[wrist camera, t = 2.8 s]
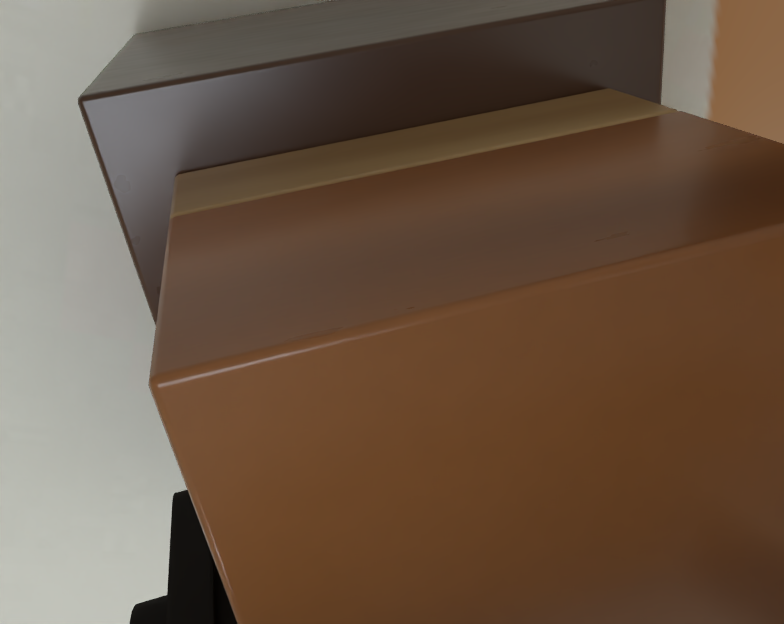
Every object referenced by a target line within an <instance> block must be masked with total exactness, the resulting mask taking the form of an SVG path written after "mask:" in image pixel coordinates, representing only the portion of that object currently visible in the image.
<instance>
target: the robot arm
mask: <svg viewBox="0 0 784 624" xmlns="http://www.w3.org/2000/svg"><path fill="white" fill-rule="evenodd" d="M130 624H238V623H237V621H236V618H235V615H234V613H233V610H232V607H231V605H230V602H229V599H228V597H227V594H226V591H225V589H224V586H223V583H222V581H221V578H220V575H219V573H218V570H217V567H216V565H215V562H214V559H213V557H212V554H211V551H210V548H209V546H208V543H207V540H206V538H205V535H204V532H203V530H202V527H201V524H200V522H199V519H198V516H197V514H196V511H195V508H194V506H193V503H192V500H191V498H190V495H189V492H188V490H185V491H181V492H177V493H175V494H174V495H173V502H172V521H171V539H170V557H169V575H168V594H167V595H166V596H163V597H159V598H156V599H152V600H149V601H145V602H142V603H139V604H136V605H135V606H134V608H133V610H132V614H131V619H130Z"/></svg>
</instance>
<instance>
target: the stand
mask: <svg viewBox="0 0 784 624" xmlns="http://www.w3.org/2000/svg"><path fill="white" fill-rule="evenodd" d="M665 13H666V0H334V1H328V2H322V3H316V4H311V5H305V6H299V7H293V8H287V9H281V10H275V11H269V12H263V13H257V14H251V15H245V16H240V17H234V18H228V19H222V20H216V21H210V22H204V23H198V24H192V25H186V26H180V27H174V28H169V29H163V30H157V31H151V32H145V33H139V34H135V35H134V36H133V37H132V38H131V39H130V40H129V41H128V42H127V43H126V45H125V46H124V47H123V48H122V49H121V50H120V51H119V52H118V54H117V55H116V56H115V57H114V58H113V59H112V60H111V61H110V63H109V64H108V65H107V66H106V67H105V68H104V69H103V70H102V72H101V73H100V74H99V75H98V76H97V77H96V78H95V80H94V81H93V82H92V83H91V84H90V85H89V86H88V87H87V89H86V90H85V91H84V92H83V93H82V94H81V95H80V96H79V98H78V105H79V108H80V111H81V114H82V116H83V119H84V122H85V125H86V128H87V131H88V134H89V136H90V139H91V142H92V145H93V148H94V151H95V154H96V156H97V159H98V162H99V165H100V168H101V171H102V174H103V176H104V179H105V182H106V185H107V188H108V191H109V194H110V196H111V199H112V202H113V205H114V208H115V211H116V214H117V217H118V219H119V222H120V225H121V228H122V231H123V234H124V237H125V239H126V242H127V245H128V248H129V251H130V254H131V257H132V259H133V262H134V265H135V268H136V271H137V274H138V277H139V279H140V282H141V285H142V288H143V291H144V294H145V297H146V299H147V302H148V305H149V308H150V311H151V314H152V317H153V320H154V322H155V325H156V322H157V314H158V306H159V298H160V290H161V282H162V274H163V266H164V259H165V251H166V243H167V235H168V227H169V220H170V212H171V204H172V196H173V188H174V180H175V177H176V176H177V175H179V174H183V173H188V172H193V171H198V170H203V169H208V168H213V167H218V166H223V165H228V164H233V163H238V162H243V161H248V160H253V159H258V158H263V157H268V156H273V155H278V154H283V153H288V152H293V151H298V150H303V149H308V148H313V147H318V146H323V145H328V144H333V143H338V142H343V141H348V140H353V139H358V138H363V137H368V136H373V135H378V134H383V133H388V132H393V131H398V130H403V129H408V128H413V127H418V126H423V125H428V124H433V123H438V122H443V121H448V120H453V119H458V118H463V117H468V116H473V115H478V114H483V113H488V112H493V111H498V110H503V109H508V108H513V107H518V106H523V105H528V104H533V103H538V102H543V101H548V100H553V99H558V98H563V97H568V96H573V95H578V94H583V93H588V92H593V91H598V90H603V89H608V88H609V89H613V90H616V91H619V92H622V93H626V94H629V95H632V96H635V97H638V98H641V99H644V100H647V101H651V102H654V103H657V104H660V105H661V89H662V70H663V51H664V32H665Z"/></svg>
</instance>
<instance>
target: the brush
mask: <svg viewBox="0 0 784 624" xmlns="http://www.w3.org/2000/svg"><path fill="white" fill-rule="evenodd" d="M149 388H150V390H151V393H152V396H153V399H154V401H155V404H156V407H157V409H158V412H159V415H160V417H161V420H162V423H163V425H164V428H165V431H166V433H167V436H168V439H169V441H170V444H171V447H172V449H173V452H174V455H175V457H176V460H177V463H178V465H179V468H180V471H181V474H182V476H183V479H184V482H185V484H186V487H187V490H188V492H189V495H190V498H191V500H192V503H193V506H194V508H195V511H196V514H197V516H198V519H199V522H200V524H201V527H202V530H203V532H204V535H205V538H206V540H207V543H208V546H209V548H210V551H211V554H212V557H213V559H214V562H215V565H216V567H217V570H218V573H219V575H220V578H221V581H222V583H223V586H224V589H225V591H226V594H227V597H228V599H229V602H230V605H231V607H232V610H233V613H234V615H235V618H236V621H237V623H238V624H784V144H782V143H779V142H776V141H773V140H770V139H766V138H763V137H760V136H757V135H754V134H751V133H748V132H745V131H742V130H738V129H735V128H732V127H729V126H726V125H723V124H720V123H716V122H713V121H710V120H707V119H704V118H701V117H698V116H695V115H692V114H688V113H685V112H682V111H679V112H678V111H677V110H676V109H672V108H669V107H666V106H663V105H660V104H657V103H654V102H651V101H647V100H644V99H641V98H638V97H635V96H632V95H629V94H626V93H622V92H619V91H616V90H613V89H609V88H608V89H603V90H598V91H593V92H588V93H583V94H578V95H573V96H568V97H563V98H558V99H553V100H548V101H543V102H538V103H533V104H528V105H523V106H518V107H513V108H508V109H503V110H498V111H493V112H488V113H483V114H478V115H473V116H468V117H463V118H458V119H453V120H448V121H443V122H438V123H433V124H428V125H423V126H418V127H413V128H408V129H403V130H398V131H393V132H388V133H383V134H378V135H373V136H368V137H363V138H358V139H353V140H348V141H343V142H338V143H333V144H328V145H323V146H318V147H313V148H308V149H303V150H298V151H293V152H288V153H283V154H278V155H273V156H268V157H263V158H258V159H253V160H248V161H243V162H238V163H233V164H228V165H223V166H218V167H213V168H208V169H203V170H198V171H193V172H188V173H183V174H179V175H177V176H176V177H175V180H174V188H173V196H172V204H171V212H170V220H169V227H168V235H167V243H166V251H165V259H164V266H163V274H162V282H161V290H160V298H159V306H158V314H157V322H156V330H155V338H154V346H153V354H152V362H151V370H150V378H149Z"/></svg>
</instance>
